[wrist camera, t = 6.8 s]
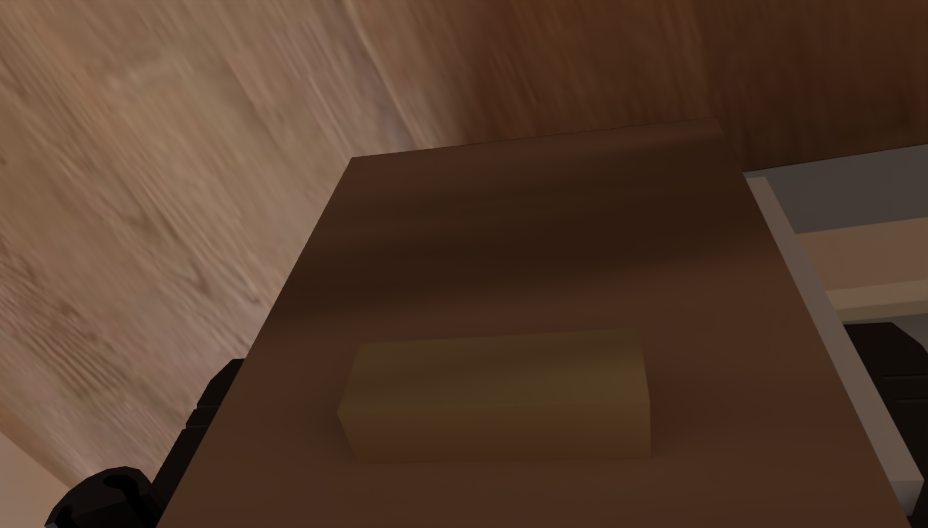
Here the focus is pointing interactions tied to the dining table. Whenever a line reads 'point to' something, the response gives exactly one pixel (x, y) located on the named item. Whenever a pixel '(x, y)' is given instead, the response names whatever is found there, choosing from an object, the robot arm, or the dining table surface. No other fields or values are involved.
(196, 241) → the dining table surface
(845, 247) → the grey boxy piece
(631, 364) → the brown block
